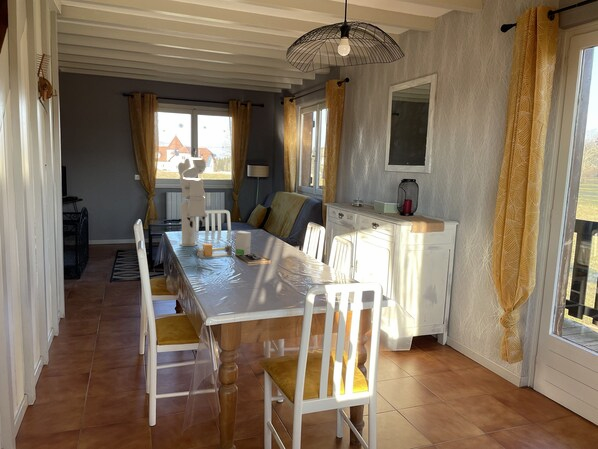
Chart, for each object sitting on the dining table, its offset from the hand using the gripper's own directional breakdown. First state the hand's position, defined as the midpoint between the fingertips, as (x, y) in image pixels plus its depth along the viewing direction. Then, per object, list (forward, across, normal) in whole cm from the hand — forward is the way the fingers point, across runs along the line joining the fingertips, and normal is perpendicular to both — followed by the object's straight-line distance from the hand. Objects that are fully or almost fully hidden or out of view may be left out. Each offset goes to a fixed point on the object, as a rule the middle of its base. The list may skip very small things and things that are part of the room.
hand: (195, 226), depth 285 cm
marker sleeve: (+19, -8, 0) cm, 21 cm away
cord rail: (+19, -12, 0) cm, 23 cm away
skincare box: (+20, -30, +3) cm, 36 cm away
